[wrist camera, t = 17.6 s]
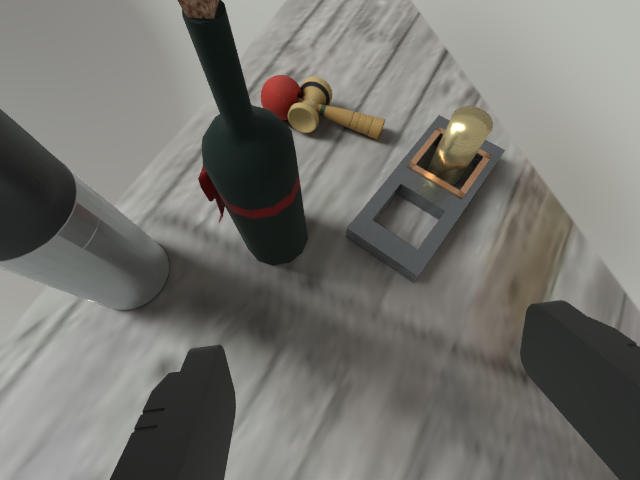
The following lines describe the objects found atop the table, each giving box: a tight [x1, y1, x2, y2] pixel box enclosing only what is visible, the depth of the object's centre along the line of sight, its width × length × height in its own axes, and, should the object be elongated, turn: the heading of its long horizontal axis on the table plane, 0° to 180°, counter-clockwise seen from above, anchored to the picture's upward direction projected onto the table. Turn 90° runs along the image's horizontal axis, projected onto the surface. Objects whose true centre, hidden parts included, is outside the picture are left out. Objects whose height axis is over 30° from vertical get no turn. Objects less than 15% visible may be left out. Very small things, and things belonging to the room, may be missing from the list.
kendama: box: [261, 75, 385, 140], centre depth 49 cm, size 8×6×18 cm
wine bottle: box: [178, 0, 308, 265], centre depth 30 cm, size 8×10×30 cm
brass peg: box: [427, 106, 493, 186], centre depth 43 cm, size 4×4×10 cm
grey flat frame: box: [346, 115, 505, 282], centre depth 45 cm, size 10×22×3 cm, turn 142°
